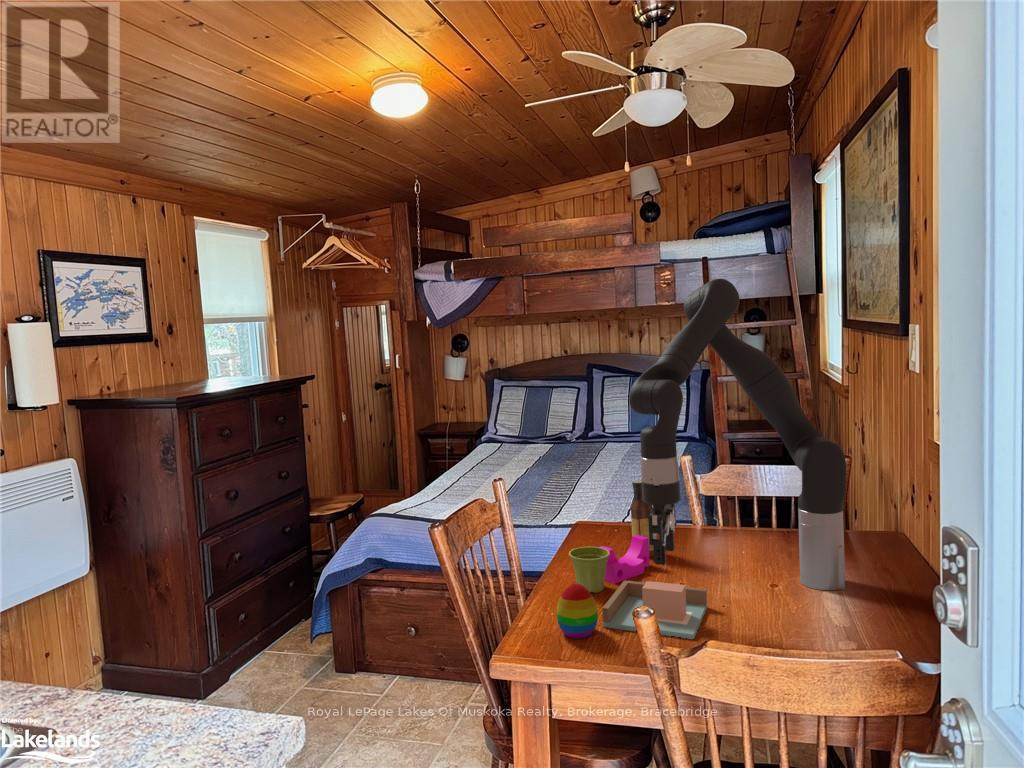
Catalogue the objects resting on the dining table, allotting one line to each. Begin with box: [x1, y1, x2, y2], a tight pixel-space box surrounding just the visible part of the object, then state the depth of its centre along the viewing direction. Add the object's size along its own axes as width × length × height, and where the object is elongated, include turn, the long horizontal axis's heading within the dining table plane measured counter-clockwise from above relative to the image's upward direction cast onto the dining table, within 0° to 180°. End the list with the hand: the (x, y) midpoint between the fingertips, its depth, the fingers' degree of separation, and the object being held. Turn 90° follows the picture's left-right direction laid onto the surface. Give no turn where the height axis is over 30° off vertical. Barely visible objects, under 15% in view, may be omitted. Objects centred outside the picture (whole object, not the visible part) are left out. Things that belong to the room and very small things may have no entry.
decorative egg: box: [556, 582, 599, 640], centre depth 135 cm, size 8×8×10 cm
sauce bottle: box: [630, 479, 654, 558], centre depth 180 cm, size 6×6×20 cm
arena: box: [601, 580, 708, 640], centre depth 141 cm, size 18×16×4 cm
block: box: [642, 580, 687, 621], centre depth 139 cm, size 4×8×6 cm, turn 65°
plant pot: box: [568, 546, 610, 594], centre depth 158 cm, size 9×9×9 cm
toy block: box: [599, 535, 651, 585], centre depth 167 cm, size 15×6×8 cm, turn 127°
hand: (664, 557), depth 138 cm, fingers open, 8 cm apart
